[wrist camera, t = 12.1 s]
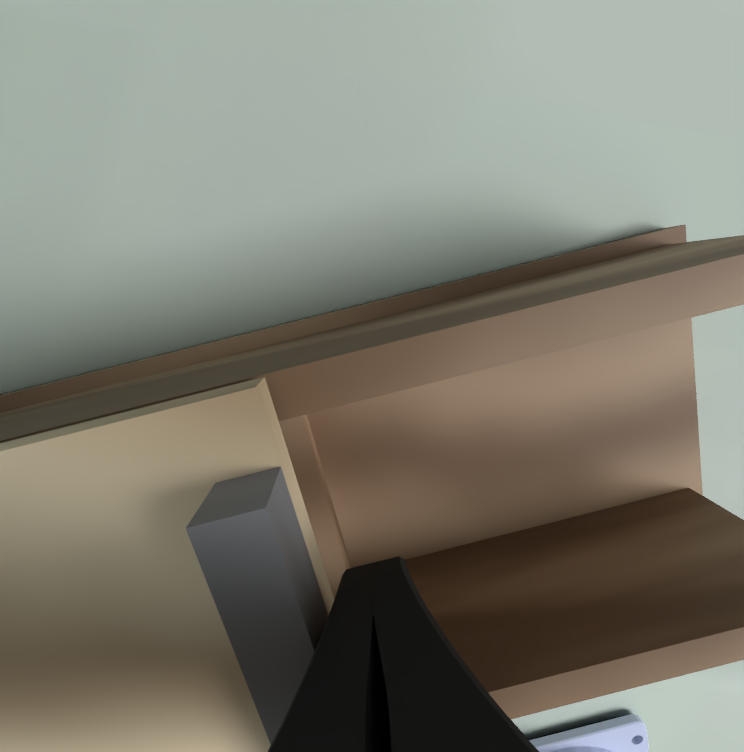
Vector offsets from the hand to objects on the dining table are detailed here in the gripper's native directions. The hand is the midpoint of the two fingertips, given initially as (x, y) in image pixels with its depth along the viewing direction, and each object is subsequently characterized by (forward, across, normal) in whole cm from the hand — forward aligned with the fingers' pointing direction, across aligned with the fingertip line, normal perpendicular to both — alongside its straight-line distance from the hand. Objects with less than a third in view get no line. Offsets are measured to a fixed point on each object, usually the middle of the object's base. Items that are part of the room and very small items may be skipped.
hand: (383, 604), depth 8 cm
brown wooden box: (+7, 0, 0) cm, 7 cm away
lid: (+1, +7, 0) cm, 7 cm away
